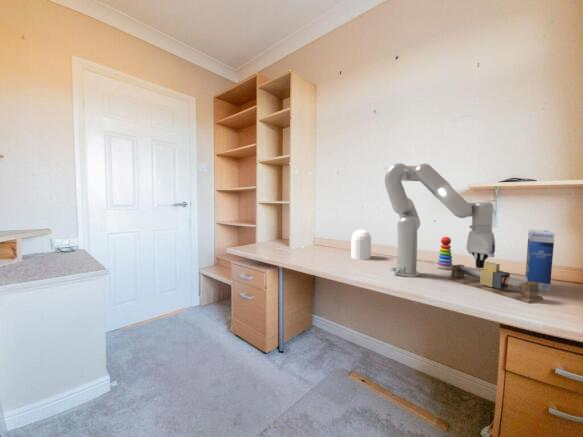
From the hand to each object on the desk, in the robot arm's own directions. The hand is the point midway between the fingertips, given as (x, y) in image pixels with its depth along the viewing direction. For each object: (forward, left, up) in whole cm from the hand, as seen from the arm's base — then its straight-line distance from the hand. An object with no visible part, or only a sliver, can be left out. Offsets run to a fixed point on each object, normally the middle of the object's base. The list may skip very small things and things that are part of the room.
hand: (480, 267), depth 117 cm
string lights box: (+23, -11, -9) cm, 27 cm away
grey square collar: (0, -9, -6) cm, 11 cm away
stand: (0, -4, -8) cm, 9 cm away
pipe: (0, -4, -5) cm, 7 cm away
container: (-15, +69, -9) cm, 71 cm away
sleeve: (0, -5, -7) cm, 8 cm away
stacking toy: (+13, +27, -9) cm, 31 cm away
